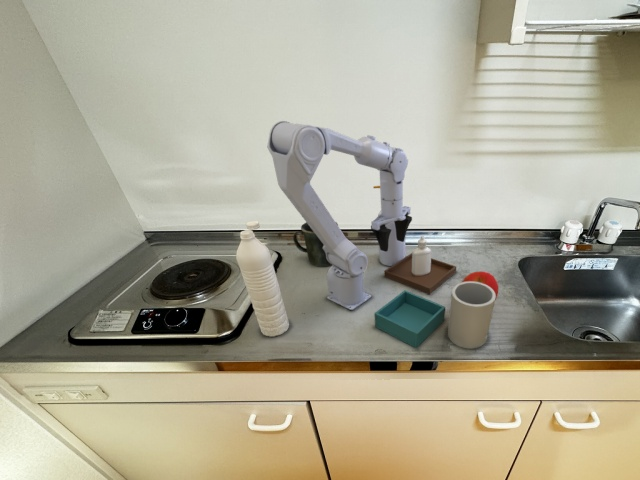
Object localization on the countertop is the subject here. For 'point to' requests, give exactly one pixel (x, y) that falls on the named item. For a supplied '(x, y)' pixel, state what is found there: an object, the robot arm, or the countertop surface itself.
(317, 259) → the mug
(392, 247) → the soap bottle
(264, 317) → the water bottle
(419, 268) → the eye dropper bottle
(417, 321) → the bin
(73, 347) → the countertop surface
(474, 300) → the cup
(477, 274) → the apple
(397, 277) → the tray
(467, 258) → the countertop surface
